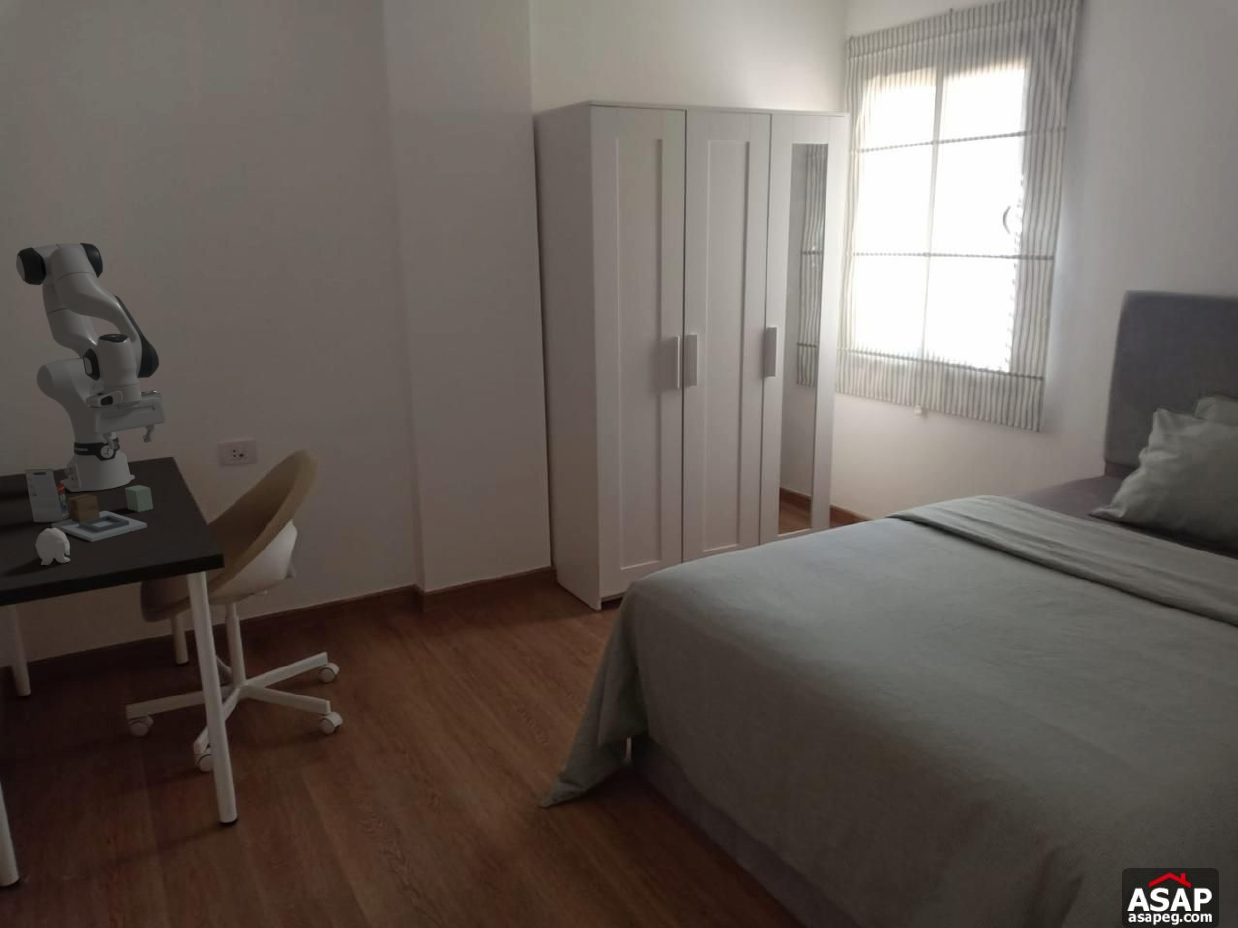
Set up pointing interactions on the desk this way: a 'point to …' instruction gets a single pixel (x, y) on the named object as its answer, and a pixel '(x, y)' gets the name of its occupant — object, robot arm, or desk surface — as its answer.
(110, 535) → the board
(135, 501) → the sage block
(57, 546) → the white animal figurine
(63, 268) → the robot arm
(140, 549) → the desk surface
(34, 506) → the ink box
